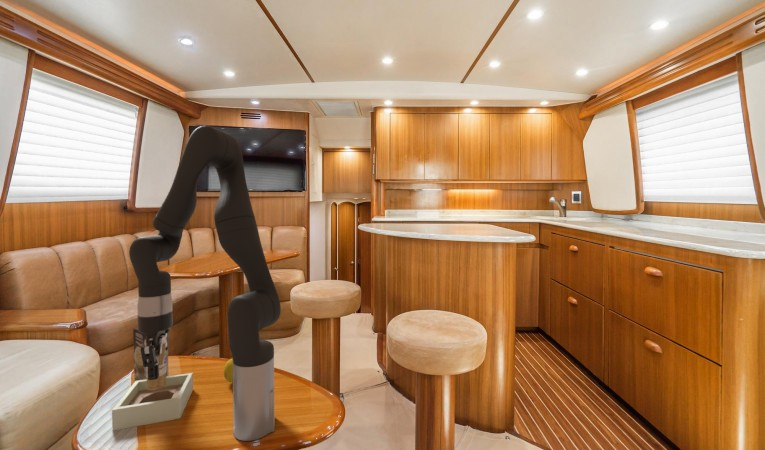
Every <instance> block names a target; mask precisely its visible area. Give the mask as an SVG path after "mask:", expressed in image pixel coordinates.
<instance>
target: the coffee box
mask: <svg viewBox="0 0 765 450" xmlns="http://www.w3.org/2000/svg"><path fill="white" fill-rule="evenodd" d="M132 329H133V331H132V332H133V334H132V335H133V338H132V339H133V376H134V379H136V380H137V381H138V380H145V379H147V377H146V367H143V361H142V355H141V347H142V346H145V345H144V342H145V338H146V336H147V334H145V333H141V332H139V331H138V326H136V327H133V328H132ZM166 376H169V349H168V350H167V351H166Z"/></svg>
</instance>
